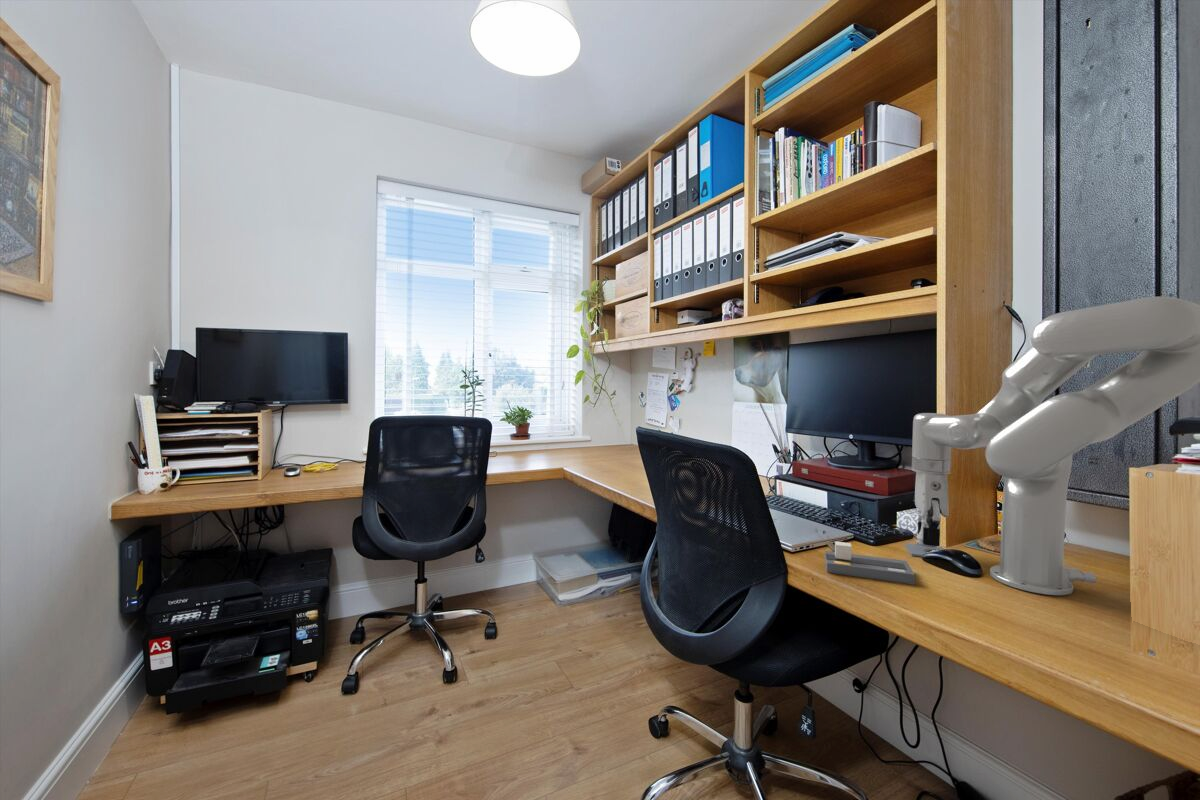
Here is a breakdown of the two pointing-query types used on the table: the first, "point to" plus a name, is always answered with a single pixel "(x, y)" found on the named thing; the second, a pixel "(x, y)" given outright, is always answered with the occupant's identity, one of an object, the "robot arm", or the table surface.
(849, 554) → the switch tab
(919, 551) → the rest mat
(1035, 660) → the table surface
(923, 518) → the rook chess piece
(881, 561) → the grey rectangular tray
